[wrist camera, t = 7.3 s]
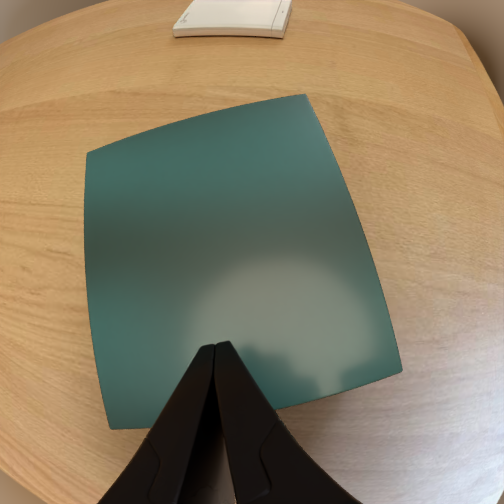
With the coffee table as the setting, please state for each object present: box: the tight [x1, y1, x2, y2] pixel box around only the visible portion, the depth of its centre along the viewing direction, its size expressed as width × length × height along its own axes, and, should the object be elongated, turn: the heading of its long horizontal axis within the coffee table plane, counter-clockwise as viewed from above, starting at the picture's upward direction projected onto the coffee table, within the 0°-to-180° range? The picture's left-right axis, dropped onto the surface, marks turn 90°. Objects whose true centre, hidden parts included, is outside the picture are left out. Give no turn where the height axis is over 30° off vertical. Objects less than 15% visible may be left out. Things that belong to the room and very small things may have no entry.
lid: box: [84, 94, 403, 430], centre depth 13 cm, size 14×13×1 cm
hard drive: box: [173, 0, 292, 38], centre depth 29 cm, size 2×8×12 cm
